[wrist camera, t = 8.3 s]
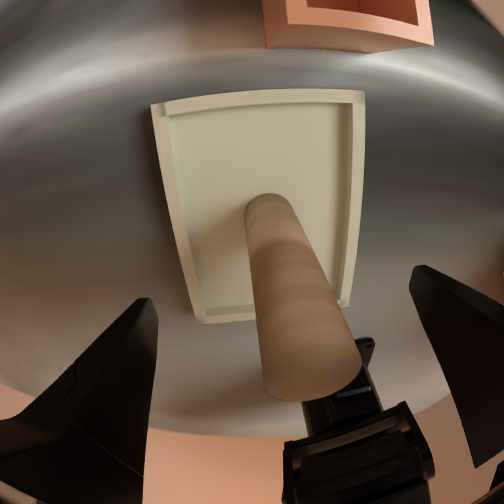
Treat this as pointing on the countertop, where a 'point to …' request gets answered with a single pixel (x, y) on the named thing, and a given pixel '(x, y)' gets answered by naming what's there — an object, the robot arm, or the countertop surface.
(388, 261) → the countertop surface
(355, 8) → the orange open box
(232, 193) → the tray
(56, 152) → the countertop surface
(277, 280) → the pin
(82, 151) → the countertop surface
